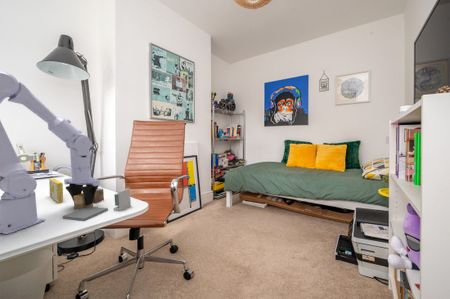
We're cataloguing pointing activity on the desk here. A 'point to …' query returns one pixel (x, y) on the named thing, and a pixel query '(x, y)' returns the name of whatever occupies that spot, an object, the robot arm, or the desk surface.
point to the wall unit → (122, 200)
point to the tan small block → (80, 202)
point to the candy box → (56, 190)
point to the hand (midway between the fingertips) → (83, 203)
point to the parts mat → (85, 213)
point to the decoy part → (98, 195)
